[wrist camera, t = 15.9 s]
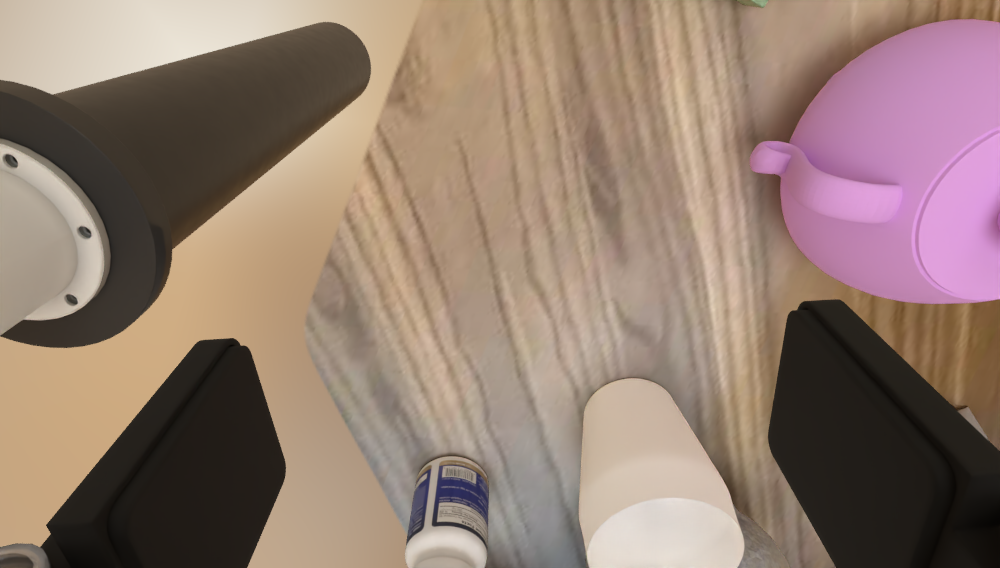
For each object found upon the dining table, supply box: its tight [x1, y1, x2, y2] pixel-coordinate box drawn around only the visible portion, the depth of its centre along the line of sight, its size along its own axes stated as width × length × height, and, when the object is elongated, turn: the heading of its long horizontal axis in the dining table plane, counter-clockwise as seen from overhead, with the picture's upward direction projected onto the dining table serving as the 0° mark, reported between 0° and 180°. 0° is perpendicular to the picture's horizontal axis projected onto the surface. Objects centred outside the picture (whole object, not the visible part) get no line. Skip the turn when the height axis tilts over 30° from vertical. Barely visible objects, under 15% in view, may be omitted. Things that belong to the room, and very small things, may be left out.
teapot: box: [750, 19, 1000, 304], centre depth 29 cm, size 20×14×12 cm
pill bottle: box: [405, 456, 489, 568], centre depth 43 cm, size 6×6×10 cm
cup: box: [579, 378, 744, 568], centre depth 39 cm, size 9×9×12 cm
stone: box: [585, 504, 790, 568], centre depth 45 cm, size 15×16×10 cm
